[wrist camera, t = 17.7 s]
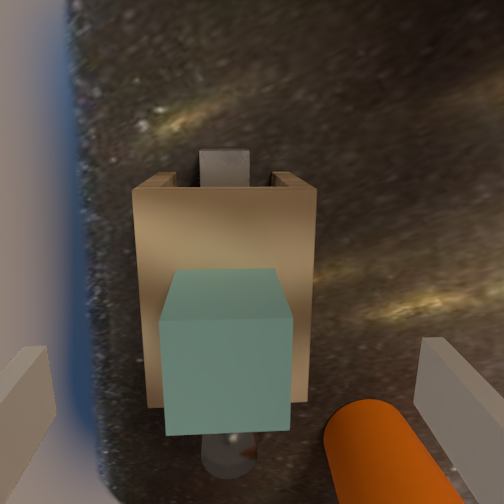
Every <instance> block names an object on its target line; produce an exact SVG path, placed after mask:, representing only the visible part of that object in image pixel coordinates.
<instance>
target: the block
mask: <svg viewBox="0 0 504 504" xmlns="http://www.w3.org/2000/svg"><path fill="white" fill-rule="evenodd" d="M159 332H160V348H161V364H162V380H163V396H164V412H165V427H166V436H174V435H196V434H219V433H241V432H263V431H286V430H290V408H291V377H292V345H293V316H292V313H291V310H290V308H289V305H288V302H287V300H286V297H285V295H284V292H283V289H282V287H281V284H280V282H279V279H278V276H277V274H276V271H275V268H255V269H203V270H175V273H174V276H173V279H172V282H171V286H170V289H169V292H168V295H167V298H166V301H165V304H164V307H163V310H162V313H161V316H160V319H159Z"/></svg>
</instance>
